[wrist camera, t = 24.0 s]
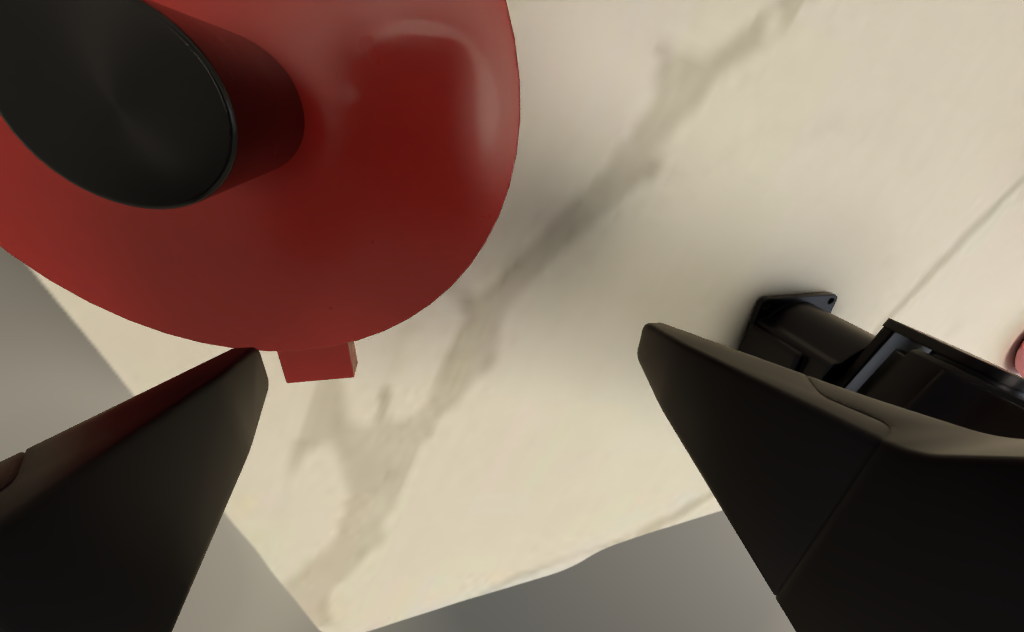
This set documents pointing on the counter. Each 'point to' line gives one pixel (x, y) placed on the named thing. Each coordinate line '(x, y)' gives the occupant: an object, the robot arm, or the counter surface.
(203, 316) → the lid
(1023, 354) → the donut
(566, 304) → the counter surface
